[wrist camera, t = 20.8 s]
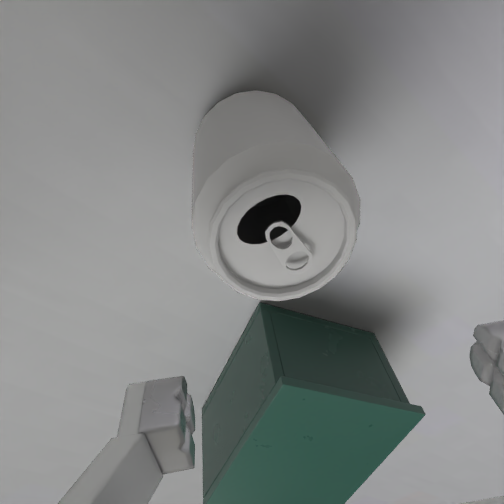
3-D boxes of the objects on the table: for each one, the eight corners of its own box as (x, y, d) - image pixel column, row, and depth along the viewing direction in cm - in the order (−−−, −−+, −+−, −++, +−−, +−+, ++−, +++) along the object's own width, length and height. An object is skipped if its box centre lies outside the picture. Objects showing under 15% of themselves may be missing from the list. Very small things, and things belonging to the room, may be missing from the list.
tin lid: (281, 375, 27) (282, 384, 26) (421, 406, 30) (426, 414, 30) (202, 499, 33) (202, 508, 33) (325, 513, 37) (327, 522, 36)
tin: (259, 301, 34) (275, 383, 27) (374, 333, 38) (415, 413, 31) (201, 409, 40) (202, 498, 33) (304, 428, 44) (325, 513, 37)
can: (269, 60, 25) (319, 114, 15) (329, 160, 29) (402, 258, 18) (168, 135, 26) (151, 230, 16) (237, 221, 30) (258, 341, 20)
